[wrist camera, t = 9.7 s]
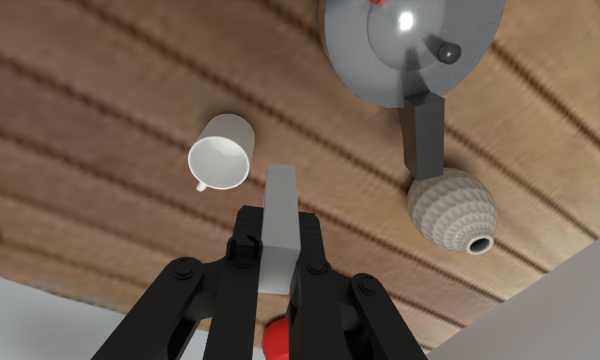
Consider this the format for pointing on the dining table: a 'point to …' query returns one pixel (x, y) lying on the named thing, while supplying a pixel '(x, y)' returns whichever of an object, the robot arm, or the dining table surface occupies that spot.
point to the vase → (454, 211)
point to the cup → (222, 152)
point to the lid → (410, 61)
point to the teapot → (276, 341)
